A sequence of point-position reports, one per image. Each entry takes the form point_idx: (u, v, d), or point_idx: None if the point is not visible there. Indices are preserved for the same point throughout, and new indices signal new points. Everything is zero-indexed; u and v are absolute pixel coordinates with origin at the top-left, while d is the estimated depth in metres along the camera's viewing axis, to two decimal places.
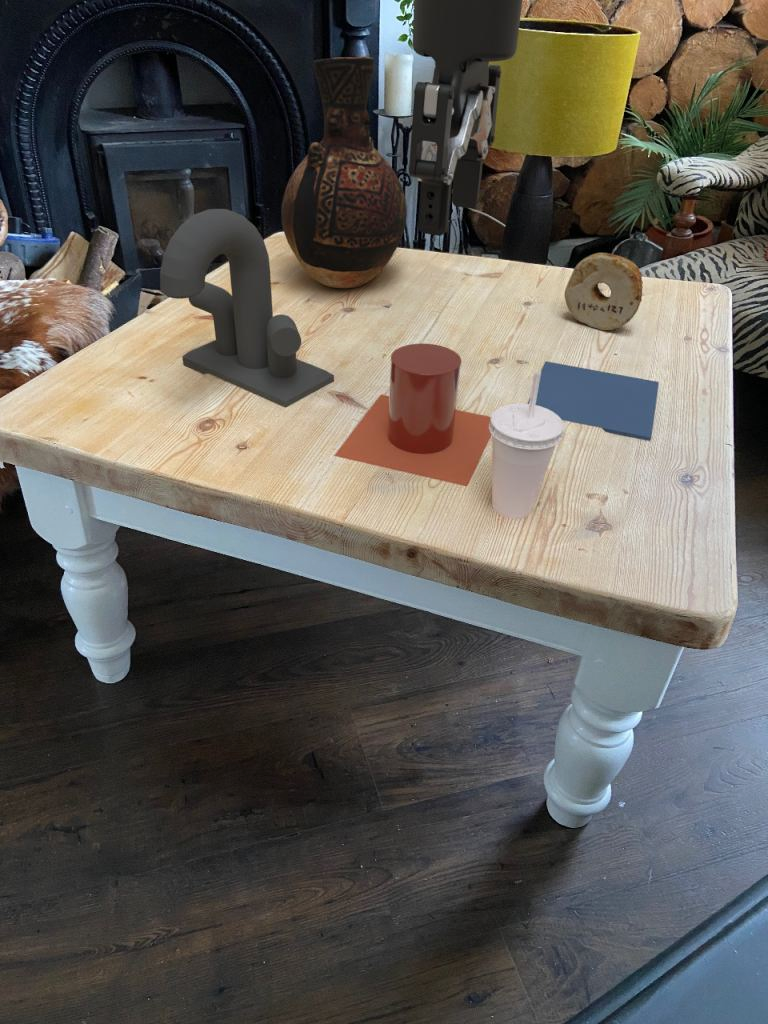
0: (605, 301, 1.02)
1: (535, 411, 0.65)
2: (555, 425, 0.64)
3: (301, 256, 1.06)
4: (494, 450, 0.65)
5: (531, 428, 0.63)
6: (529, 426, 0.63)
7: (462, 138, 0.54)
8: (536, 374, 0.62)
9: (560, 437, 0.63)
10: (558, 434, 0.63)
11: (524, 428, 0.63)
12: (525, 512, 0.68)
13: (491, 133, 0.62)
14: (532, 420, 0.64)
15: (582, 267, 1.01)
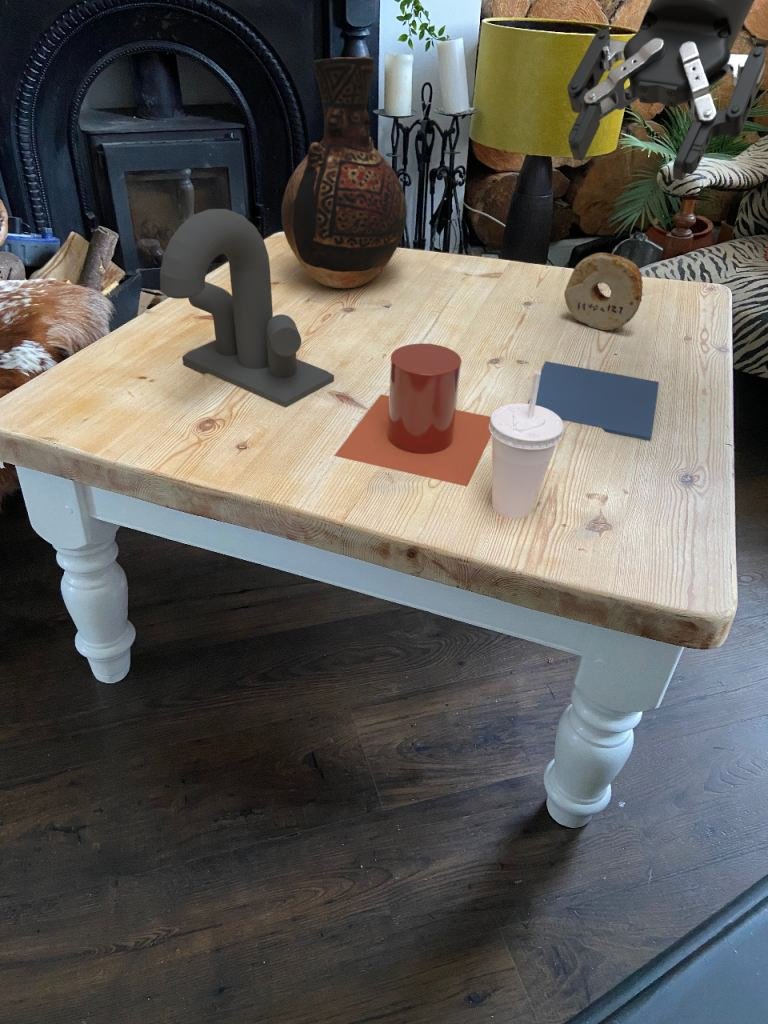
0: (605, 301, 1.02)
1: (535, 411, 0.65)
2: (555, 425, 0.64)
3: (301, 256, 1.06)
4: (494, 450, 0.65)
5: (531, 428, 0.63)
6: (529, 426, 0.63)
7: (615, 68, 0.60)
8: (536, 374, 0.62)
9: (560, 437, 0.63)
10: (558, 434, 0.63)
11: (524, 428, 0.63)
12: (525, 512, 0.68)
13: (732, 103, 0.56)
14: (532, 420, 0.64)
15: (582, 267, 1.01)
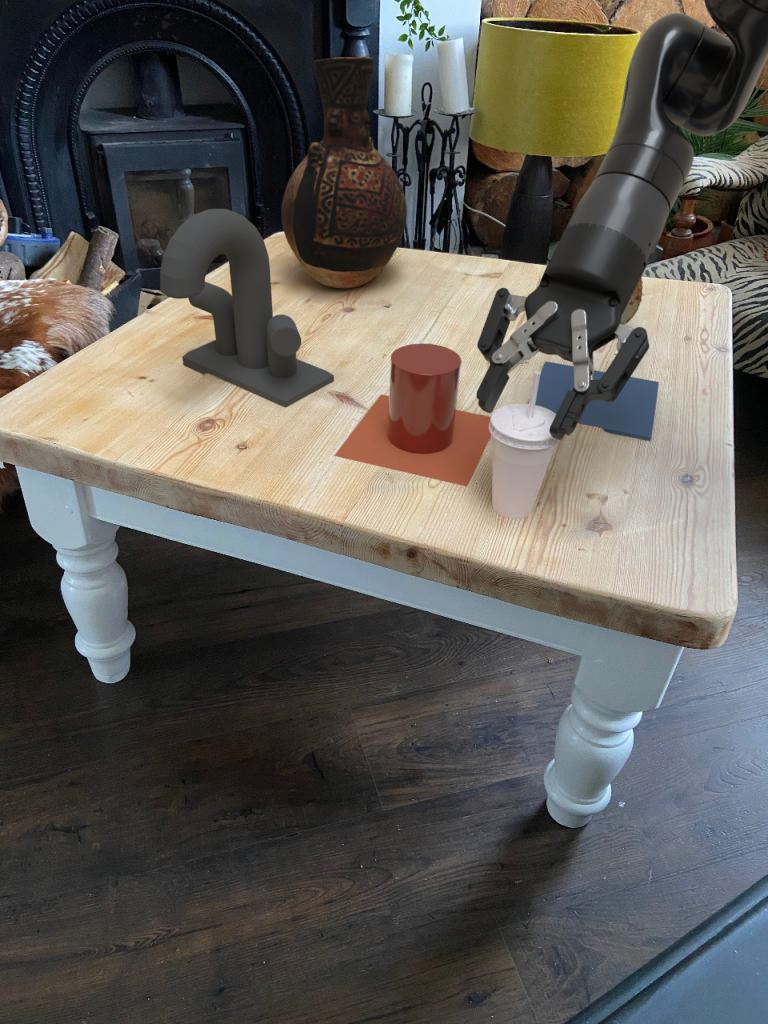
0: None
1: (535, 411, 0.65)
2: None
3: (301, 256, 1.06)
4: (494, 450, 0.65)
5: (531, 428, 0.63)
6: (529, 426, 0.63)
7: (517, 330, 0.63)
8: (536, 374, 0.62)
9: None
10: None
11: (524, 428, 0.63)
12: (525, 512, 0.68)
13: (605, 377, 0.59)
14: (532, 420, 0.64)
15: None
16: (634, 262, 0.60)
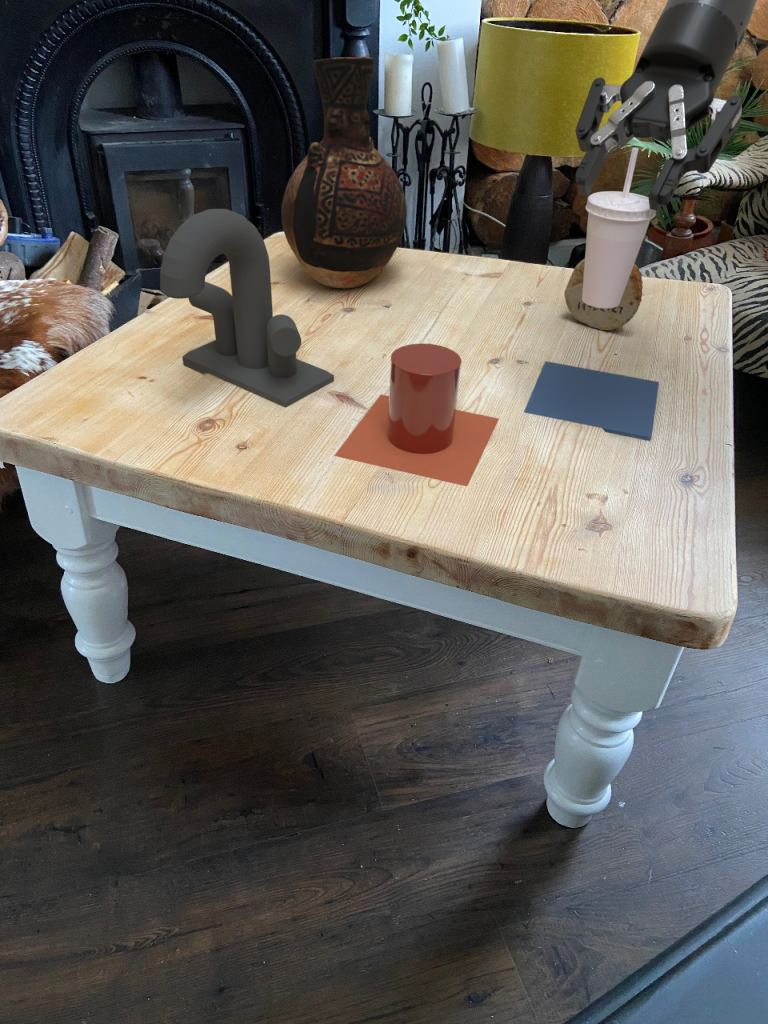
0: None
1: (628, 194, 0.70)
2: None
3: (301, 256, 1.06)
4: (590, 231, 0.70)
5: (627, 204, 0.68)
6: (625, 202, 0.68)
7: (614, 112, 0.67)
8: (634, 149, 0.66)
9: (654, 214, 0.68)
10: None
11: (621, 203, 0.67)
12: (616, 297, 0.72)
13: (702, 143, 0.64)
14: (627, 199, 0.68)
15: (582, 267, 1.01)
16: (728, 38, 0.64)
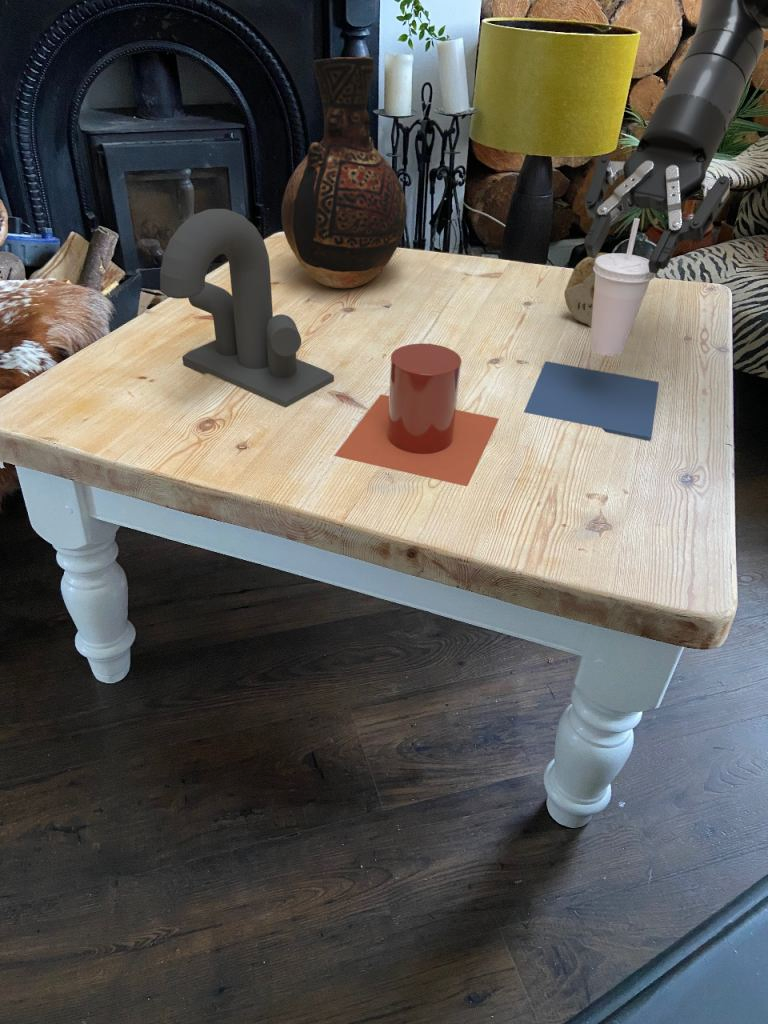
0: None
1: (631, 257, 0.79)
2: None
3: (301, 256, 1.06)
4: (597, 289, 0.79)
5: (630, 267, 0.77)
6: (628, 265, 0.77)
7: (618, 186, 0.77)
8: (636, 220, 0.76)
9: (653, 275, 0.77)
10: None
11: (624, 266, 0.77)
12: (620, 346, 0.82)
13: (695, 217, 0.73)
14: (630, 262, 0.78)
15: (582, 267, 1.01)
16: (718, 125, 0.74)
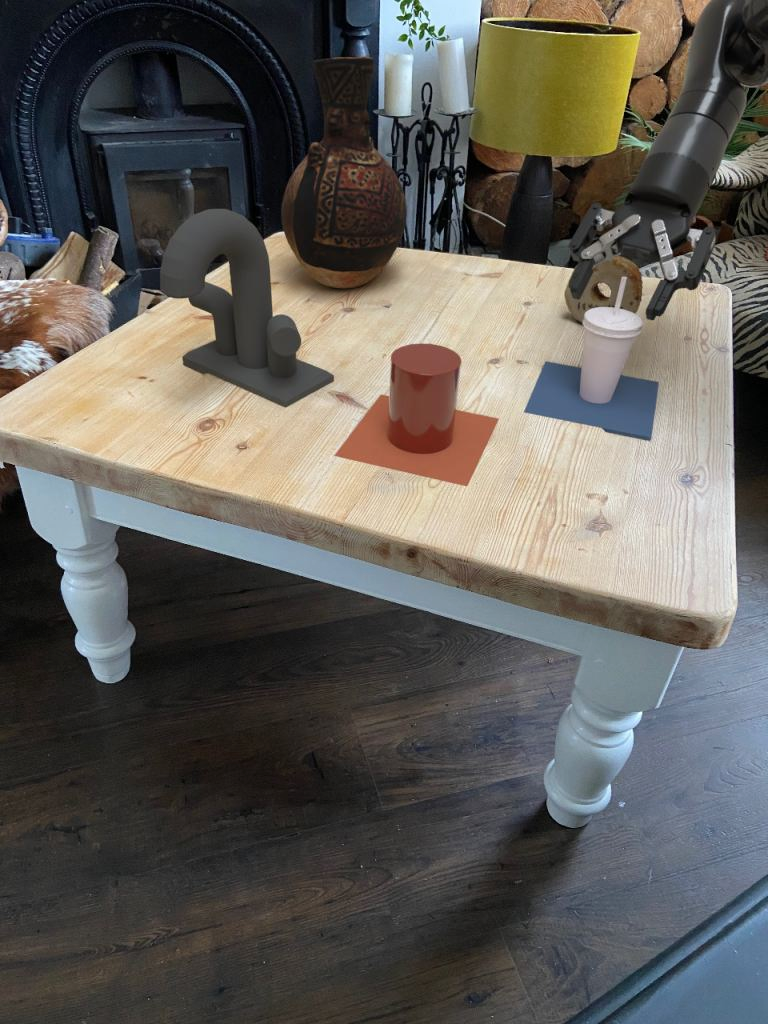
0: (605, 301, 1.02)
1: (619, 311, 0.83)
2: (636, 321, 0.81)
3: (301, 256, 1.06)
4: (586, 342, 0.83)
5: (617, 322, 0.81)
6: (616, 321, 0.81)
7: (604, 234, 0.80)
8: (623, 278, 0.79)
9: (640, 330, 0.81)
10: (639, 326, 0.80)
11: (612, 322, 0.80)
12: (608, 395, 0.85)
13: (689, 268, 0.76)
14: (617, 317, 0.81)
15: None
16: (701, 182, 0.77)
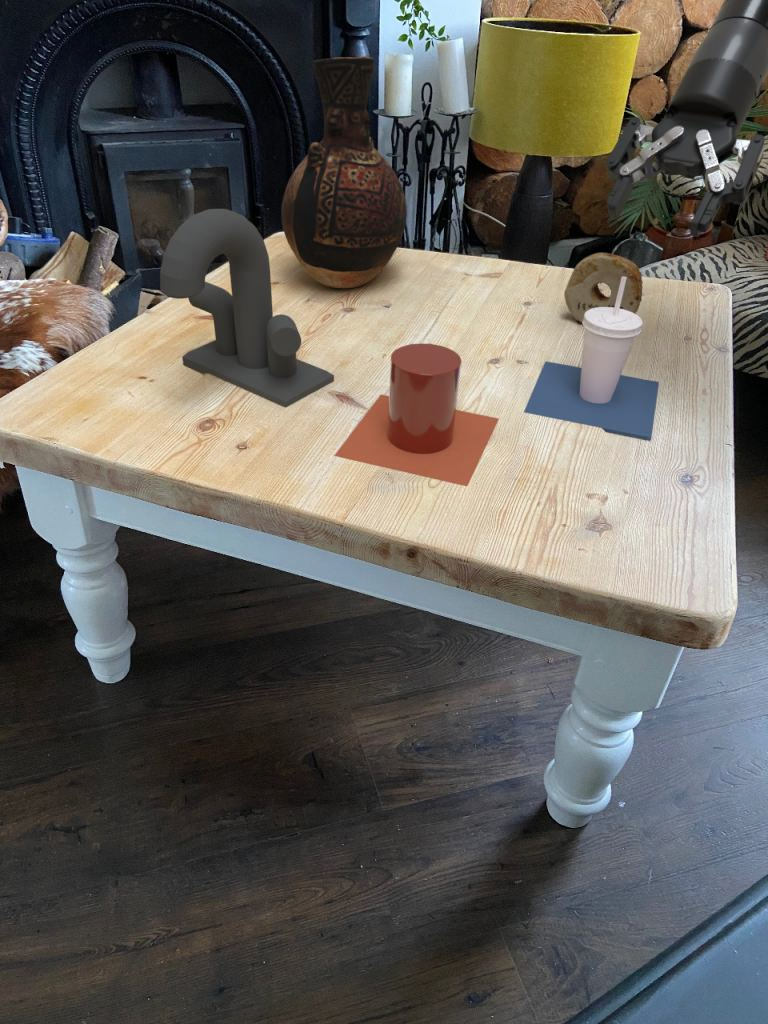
0: (605, 301, 1.02)
1: (618, 311, 0.83)
2: (635, 321, 0.81)
3: (301, 256, 1.06)
4: (586, 342, 0.83)
5: (617, 322, 0.81)
6: (616, 321, 0.81)
7: (645, 148, 0.76)
8: (623, 278, 0.79)
9: (640, 330, 0.81)
10: (639, 326, 0.80)
11: (612, 322, 0.80)
12: (608, 394, 0.85)
13: (737, 178, 0.72)
14: (617, 317, 0.81)
15: (582, 267, 1.01)
16: (749, 89, 0.73)
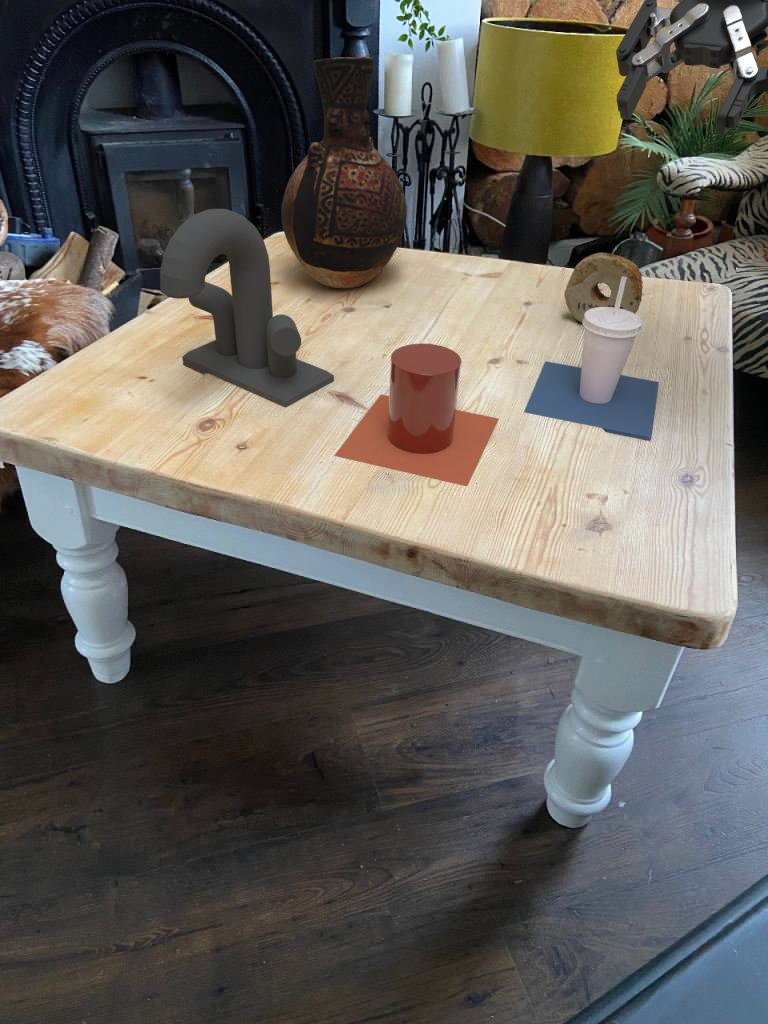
0: (605, 301, 1.02)
1: (618, 311, 0.83)
2: (635, 321, 0.81)
3: (301, 256, 1.06)
4: (586, 342, 0.83)
5: (617, 322, 0.81)
6: (616, 321, 0.81)
7: (662, 32, 0.64)
8: (623, 278, 0.79)
9: (640, 330, 0.81)
10: (639, 326, 0.80)
11: (612, 322, 0.80)
12: (608, 394, 0.85)
13: None
14: (617, 317, 0.81)
15: (582, 267, 1.01)
16: None
